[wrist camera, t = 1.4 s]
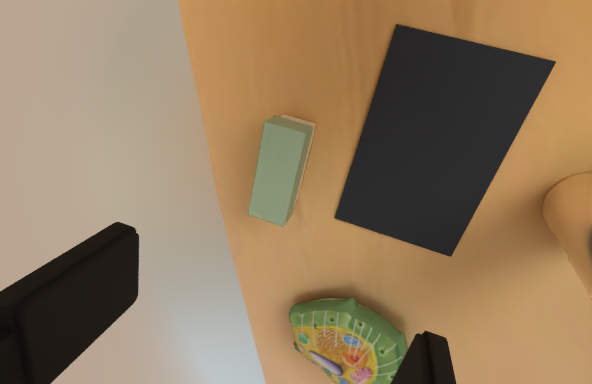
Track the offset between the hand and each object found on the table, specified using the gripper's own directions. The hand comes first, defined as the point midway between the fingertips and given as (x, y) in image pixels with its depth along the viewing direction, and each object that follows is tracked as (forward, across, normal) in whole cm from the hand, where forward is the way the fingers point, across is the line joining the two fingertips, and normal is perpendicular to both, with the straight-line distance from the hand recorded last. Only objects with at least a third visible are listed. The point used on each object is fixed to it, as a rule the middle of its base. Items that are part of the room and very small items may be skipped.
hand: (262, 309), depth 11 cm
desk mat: (+26, -8, -1) cm, 27 cm away
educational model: (+26, -7, +24) cm, 37 cm away
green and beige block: (+26, +5, +4) cm, 27 cm away
